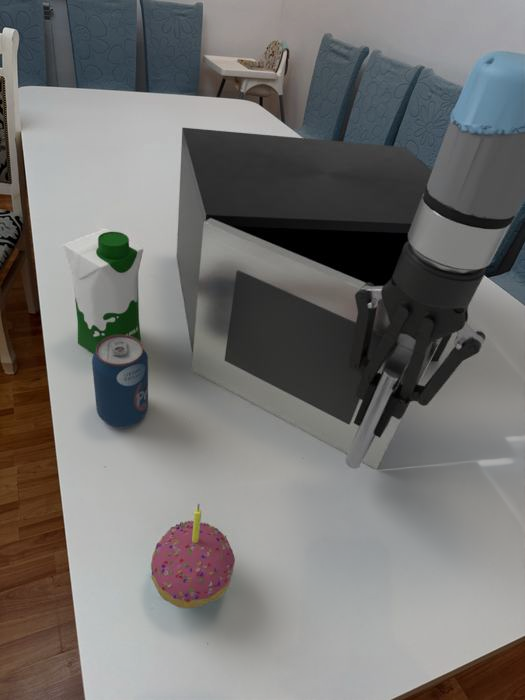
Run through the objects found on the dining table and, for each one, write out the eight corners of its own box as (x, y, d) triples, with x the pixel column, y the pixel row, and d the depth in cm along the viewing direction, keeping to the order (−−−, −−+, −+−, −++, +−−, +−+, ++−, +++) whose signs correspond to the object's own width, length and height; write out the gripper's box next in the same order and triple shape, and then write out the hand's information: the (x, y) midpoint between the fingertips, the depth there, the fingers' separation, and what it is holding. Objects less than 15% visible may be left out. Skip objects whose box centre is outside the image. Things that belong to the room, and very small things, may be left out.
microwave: (439, 365, 89) (507, 235, 73) (195, 374, 78) (208, 223, 61) (368, 261, 115) (406, 147, 98) (176, 256, 104) (182, 127, 87)
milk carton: (107, 370, 76) (99, 256, 63) (68, 343, 79) (53, 229, 66) (149, 344, 82) (149, 235, 69) (111, 319, 85) (104, 211, 72)
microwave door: (360, 500, 65) (434, 354, 48) (167, 392, 74) (173, 238, 58) (379, 462, 70) (451, 318, 54) (197, 365, 80) (210, 217, 63)
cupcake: (153, 545, 56) (154, 484, 49) (227, 543, 58) (240, 484, 50) (148, 626, 50) (148, 571, 42) (232, 621, 51) (247, 567, 44)
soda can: (150, 428, 69) (151, 365, 61) (98, 434, 67) (91, 370, 59) (145, 392, 74) (144, 329, 66) (96, 397, 72) (89, 333, 64)
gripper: (538, 269, 45) (439, 436, 60) (385, 210, 50) (329, 378, 65) (523, 305, 40) (419, 477, 55) (354, 234, 45) (302, 410, 60)
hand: (371, 423), depth 60 cm, fingers closed on microwave door, 2 cm apart
